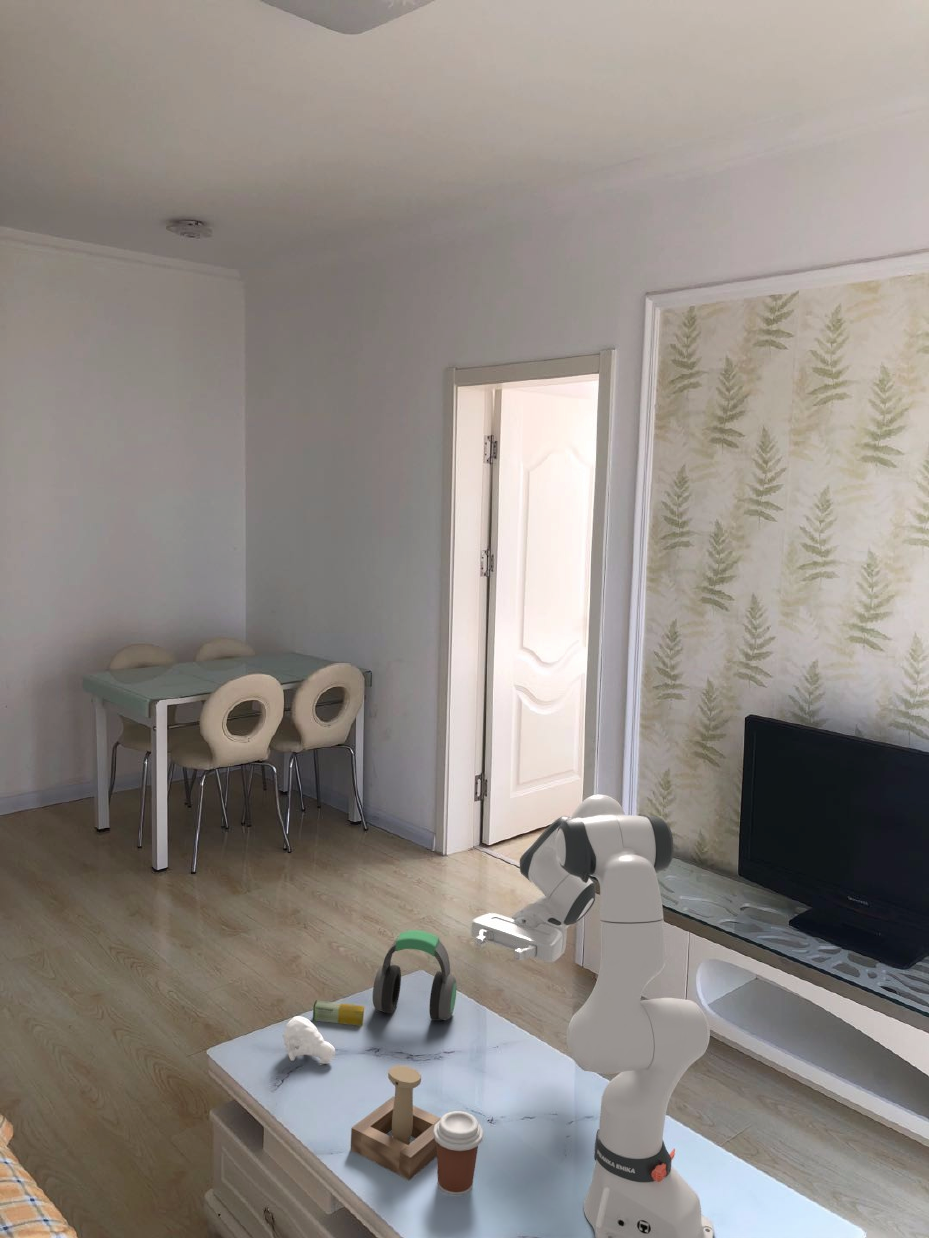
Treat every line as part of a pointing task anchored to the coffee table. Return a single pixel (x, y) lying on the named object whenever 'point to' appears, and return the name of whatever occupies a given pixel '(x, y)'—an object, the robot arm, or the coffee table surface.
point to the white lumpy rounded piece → (306, 1040)
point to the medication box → (338, 1013)
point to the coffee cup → (457, 1151)
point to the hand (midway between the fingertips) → (497, 949)
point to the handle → (403, 1101)
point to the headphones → (390, 976)
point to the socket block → (395, 1141)
